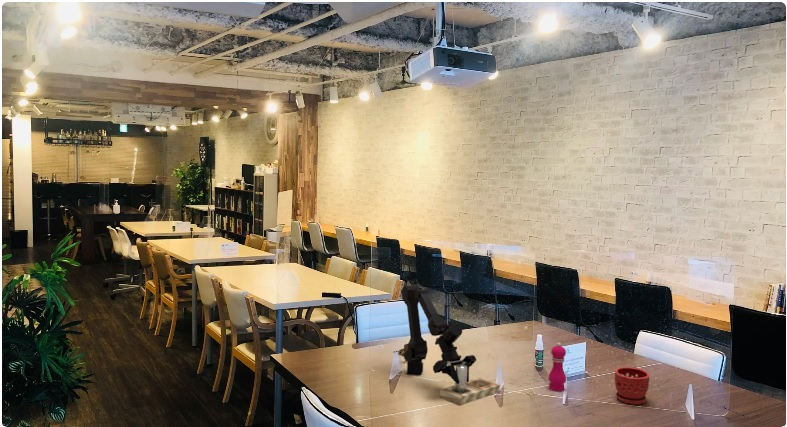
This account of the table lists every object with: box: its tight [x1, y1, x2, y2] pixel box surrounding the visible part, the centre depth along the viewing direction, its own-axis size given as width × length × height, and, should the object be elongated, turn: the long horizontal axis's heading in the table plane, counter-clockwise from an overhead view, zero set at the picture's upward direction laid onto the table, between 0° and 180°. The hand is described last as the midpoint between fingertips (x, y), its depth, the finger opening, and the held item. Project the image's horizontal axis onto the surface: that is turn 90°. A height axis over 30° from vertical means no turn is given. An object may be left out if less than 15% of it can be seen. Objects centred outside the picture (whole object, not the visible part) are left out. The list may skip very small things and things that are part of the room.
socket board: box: [439, 377, 501, 406], centre depth 258 cm, size 24×11×3 cm, turn 131°
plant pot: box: [614, 366, 650, 405], centre depth 256 cm, size 13×13×12 cm
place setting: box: [398, 343, 408, 363], centre depth 309 cm, size 18×20×6 cm
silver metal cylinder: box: [454, 364, 467, 394], centre depth 254 cm, size 5×5×13 cm
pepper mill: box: [548, 342, 567, 392], centre depth 267 cm, size 7×7×20 cm
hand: (463, 382), depth 253 cm, fingers closed on silver metal cylinder, 5 cm apart
